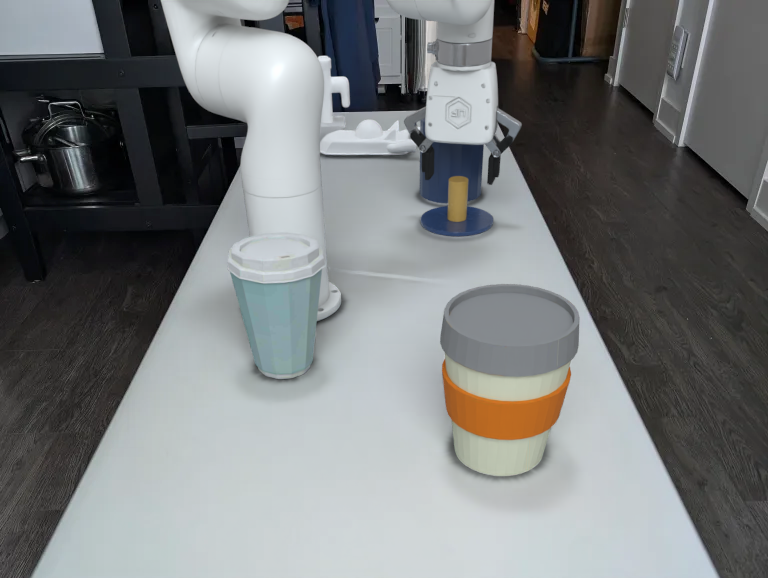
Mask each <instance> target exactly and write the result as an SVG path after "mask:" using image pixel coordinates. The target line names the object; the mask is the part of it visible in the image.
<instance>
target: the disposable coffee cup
mask: <svg viewBox="0 0 768 578" xmlns="http://www.w3.org/2000/svg"><path fill="white" fill-rule="evenodd" d="M227 253H228V255H227V267H226V270H227V271H228V272H229V274H230V277H231V281H232V284H233V285H232V286H233V288H234V292H235V295H236V299H237V303H238V306H239V309H240V313H241V316H242V317H241V318H242V322H243V325H244V328H245V332H246V335H247V336H246V337H247V340H248V342H249V347H250V350H251V353H252V357H253V361H254V365H255V366H256V367H257V369H258V371H259V372H260V373H262V375H264V376H265V377H268V378H273V379H276V380H284V379H285V380H286V379H294V378H297V377H300V376H303V375H305V374H306V372H308V371H309V369H311V365H312V364H313V360H314V350H315V343H316V342H315V339H316V333H317V322H318V321H317V313H318V303H319V293H320V284H321V274H322V268H324V267H325V259H324V255H323V249H322V247H321V246H319V245H318V241H317V240H315V239H313V238H311V237H309V236H306V235H302V234H294V233H287V232H283V233H264V234H259V235H255V236H251V237H249V236H246V237H244V238H242V239H240V240H239V241H237V242H235V243H234V244H232V245H231V248H230V249H229V250H228V252H227Z"/></svg>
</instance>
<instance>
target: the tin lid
mask: <svg viewBox="0 0 768 578" xmlns="http://www.w3.org/2000/svg"><path fill="white" fill-rule="evenodd" d="M467 197H468V178H466V177H463V176H454V177H451V178H449V184H448V204H447V205H444V206H438V207H434V208H431V209H429V210H427V211H425V212H424V213H423V214H422V215H421V216H420V225H421V227H422V228H423V229H424V230H426V231H428V232H430V233H432V234H436V235H440V236H448V237H467V236H475V235H478V234H482V233H485V232H487V231H489V230H490V229H491V228H492V227H493V225H494V217H493V215H492V214H491V213H489V211H486V210H484V209H481V208H478V207H474V206H469V205H468V202H467Z"/></svg>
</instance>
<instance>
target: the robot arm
mask: <svg viewBox="0 0 768 578" xmlns="http://www.w3.org/2000/svg"><path fill="white" fill-rule="evenodd" d="M289 2H290V0H160V3H161V6H162V10H163V14H164V17H165V21H166V24H167V28H168V31H169V36H170V39H171V42H172V46H173V49H174V52H175V57H176V60H177V63H178V67H179V70H180V73H181V76H182V78H183V82H184V84H185V86H186V88H187V90H188V93H190V95H191V97H192V98H193V99H194V101H195V102H196V103H197V104H198V105H199V106H200V107H202V108H203V109H205V110H207V112H209V113H210V112H211V113H213V114H214V115H219V116H222V117H224V118H229V119H233V120H237V121H240V122H243V123H246V124H247V132H246V137H245V140H244V143H243V148H242V150H241V154H240V155H241V156H240V178H241V185H242V190H243V191H242V192H243V199H244V209H245V215H246V224H247V231H248V237H251V236H255V235H259V234H264V233H283V232H287V233H294V234H302V235H306V236H309V237H311V238H313V239H315V240H317V241H318V245H319V246H321V247H322V249H323V255H324V259H325V267H324V268H322V274H321V284H320V293H319V303H318V313H317V322H319V321H322V320H324V319H327V318H328V317H330V316H332V315H334V313H336V312H337V311H338V310H339V309H340V307H341V304H342V293H341V290H340V288H338V286H337V285H335V284H334V283H333V282H330V281H329V271H328V256H327V240H326V226H325V224H326V223H325V210H324V195H323V182H322V181H323V180H322V167H321V166H322V165H321V153H320V126H321V115H322V107H323V99H324V75H323V70H322V67H321V64H320V62H319V60H318V57H319V56H317V54H316V53H315V52H314V50H313V49H312V48H311V47H310V46H309V45H308V44H307V43H306V42H304V41H303V40H301V39H300V38H298V37H296V36H293V35H292V34H289V33H285V32H282V31H277V30H272V29H271V30H270V29H264V28H260V27H259V28H258V27H253V26H251V27H249V26H245V25H242V22H241V20H247V21H264V20H265V21H266V20H270V19H274V18H275V17H277V16H279V15H281V13H283V11H285V9H286V8H287V7H288V4H289ZM386 2H387V4H388V5H389V7H390V8H391V9H392V10H393V11H394V12H395V13H397V14H398V15H400V16H401V17H405V18H408V19H412V20H419V21H426V22H436V23H437V28H436V29H437V35H436V39H435V40H433V41H432V42H431V41H428V42H427V45H426V53H427V54H432V55H433V56H434V57H435V61H434V62H433V63H432V64H431V65H430V69H429V75H428V82H427V91H426V102H425V106H424V107H422V108H420V109H418V110H416V111H415V112H412V113H411V114H409V115H406V117H405V118H403V119H404V120H403V124H404V126H405V129H407V130H408V132H409V134H410V138H411V139H412V140H413V142H414V143H415V144H416V145H417V146H416V147H417V148H418V149H419V150H418V151H419V153H420V152H422V172H425V180H429V179H431V177H432V176H433V174H434V149H433V147H432V143H433V142H439V143H453V144H470V145H484V146H485V147H486V148H487V149H488V151H489V152H490V154H489V156H488V161H487V162H488V163H487V178H486V179H487V180H486V184H487V185H489V186H493V184H494V182H495V180H496V178H499V177H500V171H501V155H502V154H503V153H504V152H506V150H507V149H508V148H510V146H511V145H512V144H513V142H514V141H515V139H516V137H517V135H519V132H520V130H521V129H522V125H523V124H522V122H521V121H519V120H518V119H517V118H514V117H513V116H511V115H510V114H508V113H507V112H505V111H504V110H502V109H501V108H499V88H498V87H499V86H498V74H497V66H496V63H495V62H494V61H492V53H493V52H492V50H493V36H494V35H493V32H494V16H495V15H494V12H495V0H386ZM424 118H425V135H426V137H425V136H424V135H423V134H422V132H421V131H420V130H419V129H418V127H419V126H418V124H417V123H418V122H420V120H422V119H424ZM499 124H500V125H502V126H504V127H506V128H507V129H508V132H507V134H506V135H505V137H503V138H502V139H501V140H500V138H499V137H498V136H497V134H496V133H497V131H498V125H499Z"/></svg>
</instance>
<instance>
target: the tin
mask: <svg viewBox="0 0 768 578" xmlns="http://www.w3.org/2000/svg"><path fill="white" fill-rule="evenodd" d="M419 127H420V131H421V132H422V134H423V135H424V136H425V137H426V135H425V118H424V119H422V120H420V121H419ZM484 146H485V144H484V145H470V144H453V143H439V142H433V143H432V147H433V149H434V174H433V176H432V177H431V179H429V180H425V172H422V152H420V151H419V195H420V196H421V198H423V199H425V200H427V201H430V202H434V203H437V204H447V205H448V184H449V178H451V177H454V176H463V177H466V178H468V197H467V203H469V202H471V201H474V200H477V199H478V198H479V197H481V196H482V182H483V165H484V149H485V148H484Z"/></svg>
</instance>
